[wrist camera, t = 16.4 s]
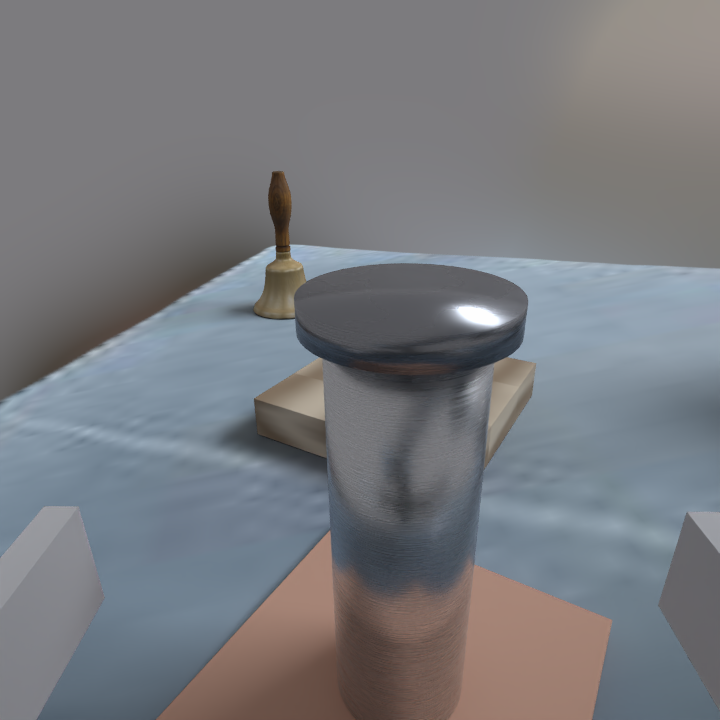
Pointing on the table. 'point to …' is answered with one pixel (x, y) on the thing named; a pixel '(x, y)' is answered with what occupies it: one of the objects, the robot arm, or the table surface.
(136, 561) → the table surface
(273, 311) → the hand bell
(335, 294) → the aluminium plug
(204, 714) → the terracotta mat
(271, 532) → the table surface
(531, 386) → the frame
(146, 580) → the table surface
